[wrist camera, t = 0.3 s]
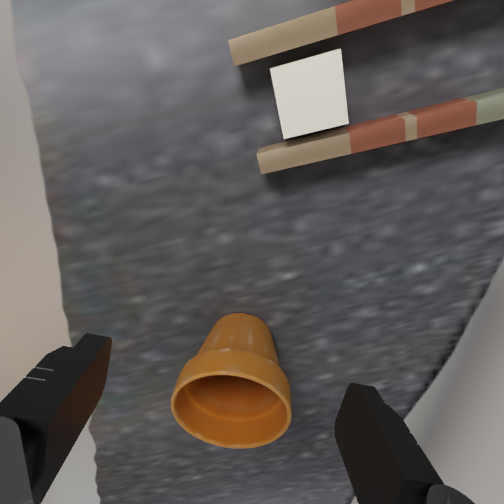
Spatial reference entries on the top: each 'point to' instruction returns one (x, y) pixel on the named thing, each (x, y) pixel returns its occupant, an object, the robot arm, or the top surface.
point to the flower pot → (234, 387)
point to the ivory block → (310, 94)
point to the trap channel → (371, 132)
